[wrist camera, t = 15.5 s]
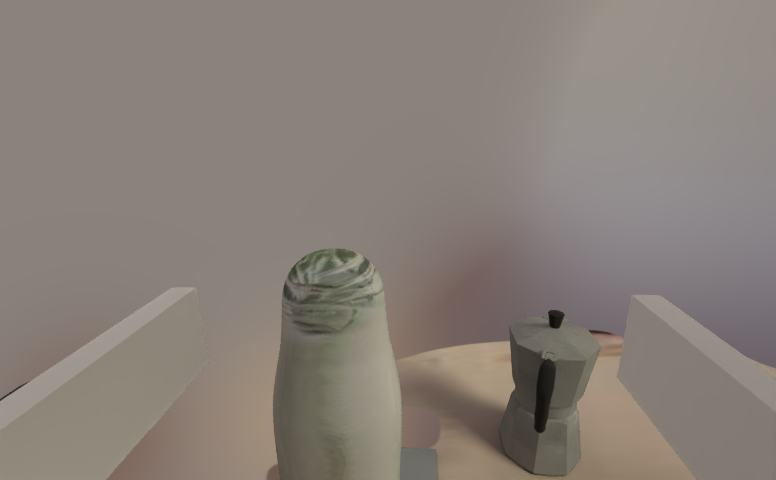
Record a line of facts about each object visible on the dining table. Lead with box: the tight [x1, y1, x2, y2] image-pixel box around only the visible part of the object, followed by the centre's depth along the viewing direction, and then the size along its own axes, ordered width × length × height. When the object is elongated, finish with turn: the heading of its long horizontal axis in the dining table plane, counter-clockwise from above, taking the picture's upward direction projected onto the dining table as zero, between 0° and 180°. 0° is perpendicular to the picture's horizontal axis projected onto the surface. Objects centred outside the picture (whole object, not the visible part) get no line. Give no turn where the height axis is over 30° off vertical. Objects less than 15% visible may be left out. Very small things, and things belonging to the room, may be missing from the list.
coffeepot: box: [499, 310, 601, 476], centre depth 43 cm, size 15×9×18 cm, turn 153°
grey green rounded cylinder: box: [273, 248, 402, 480], centre depth 31 cm, size 10×10×28 cm
